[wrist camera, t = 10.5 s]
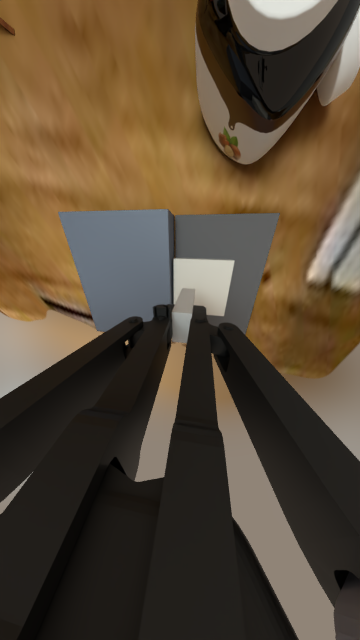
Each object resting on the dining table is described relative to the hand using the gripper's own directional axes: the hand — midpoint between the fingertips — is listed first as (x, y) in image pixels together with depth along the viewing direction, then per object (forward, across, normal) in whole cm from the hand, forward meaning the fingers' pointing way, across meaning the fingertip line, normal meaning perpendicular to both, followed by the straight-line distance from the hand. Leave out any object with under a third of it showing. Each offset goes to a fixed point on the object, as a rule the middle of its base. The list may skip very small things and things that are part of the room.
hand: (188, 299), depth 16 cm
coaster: (+9, +2, -1) cm, 10 cm away
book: (+10, -11, 0) cm, 15 cm away
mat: (+10, +4, 0) cm, 11 cm away
